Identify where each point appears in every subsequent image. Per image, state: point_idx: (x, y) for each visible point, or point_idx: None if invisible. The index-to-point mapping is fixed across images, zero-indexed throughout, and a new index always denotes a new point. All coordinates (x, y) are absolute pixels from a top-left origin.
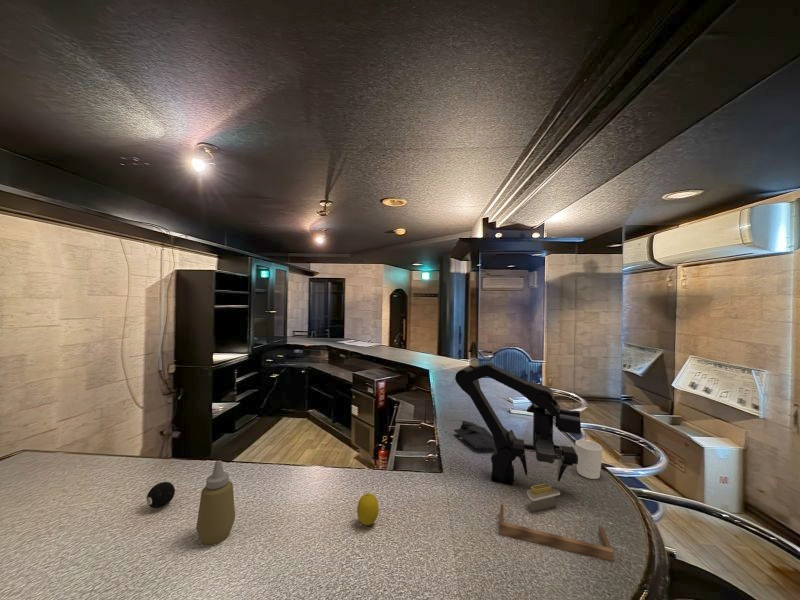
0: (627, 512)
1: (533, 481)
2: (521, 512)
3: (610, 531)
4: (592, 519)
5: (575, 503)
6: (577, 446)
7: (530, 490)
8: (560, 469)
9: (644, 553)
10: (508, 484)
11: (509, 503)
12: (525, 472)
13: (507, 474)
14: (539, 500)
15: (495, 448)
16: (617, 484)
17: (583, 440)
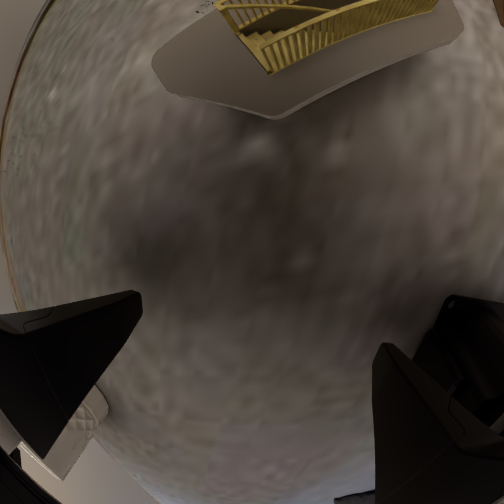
0: (11, 187)
1: (300, 358)
2: None
3: (72, 42)
4: (92, 77)
5: (116, 179)
6: (51, 463)
7: (437, 26)
8: (48, 322)
9: (52, 9)
10: (463, 297)
11: (494, 103)
12: (403, 355)
13: (482, 343)
14: (354, 1)
15: (372, 495)
16: None
17: (50, 471)
